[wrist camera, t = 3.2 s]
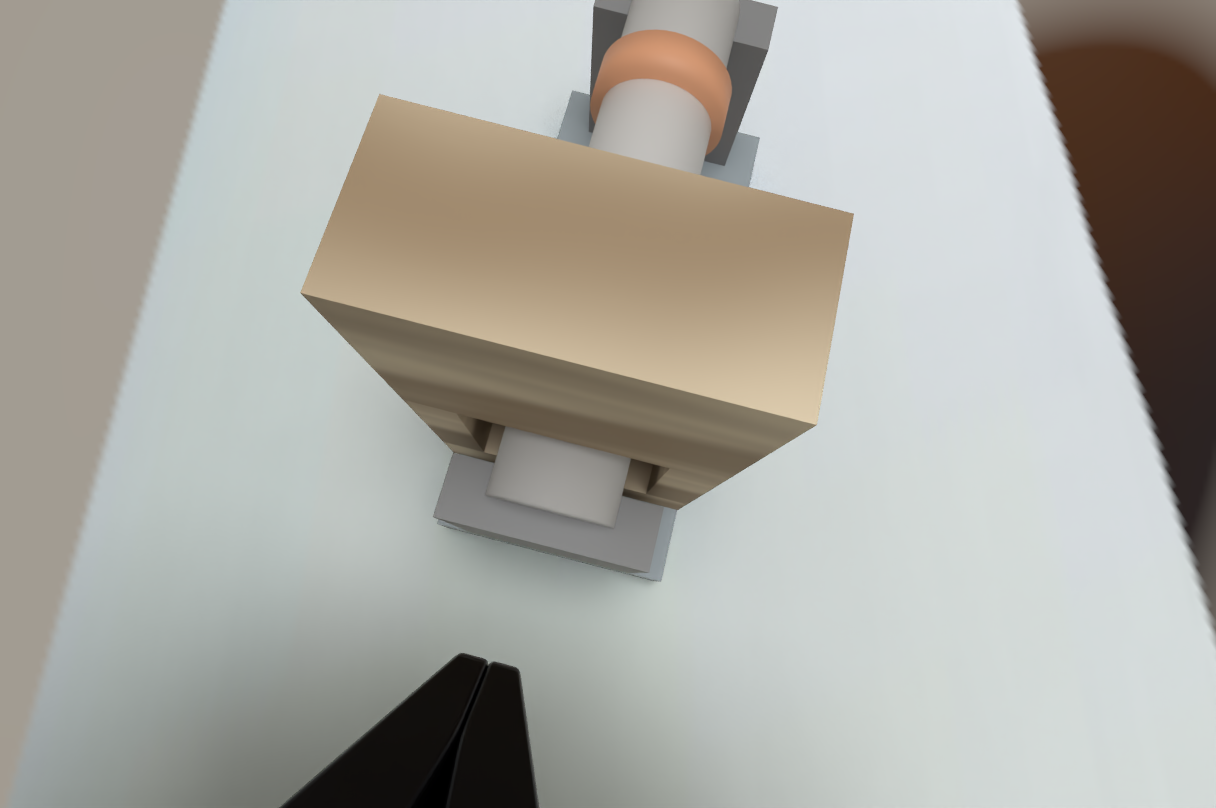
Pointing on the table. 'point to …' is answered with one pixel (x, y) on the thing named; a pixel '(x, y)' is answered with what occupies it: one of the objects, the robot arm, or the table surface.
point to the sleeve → (580, 297)
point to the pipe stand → (657, 133)
